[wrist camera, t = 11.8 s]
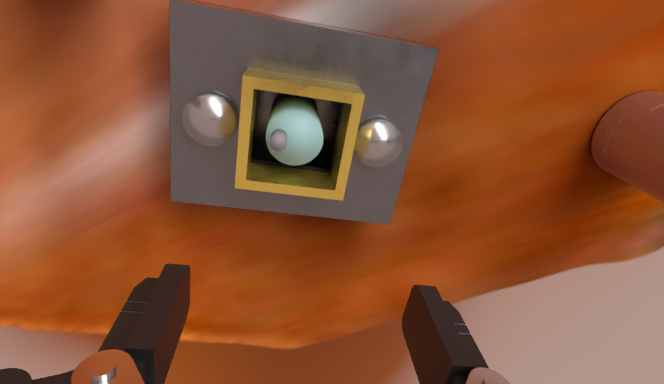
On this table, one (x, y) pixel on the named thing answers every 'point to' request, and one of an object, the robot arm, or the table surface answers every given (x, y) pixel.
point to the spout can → (294, 129)
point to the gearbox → (296, 79)
